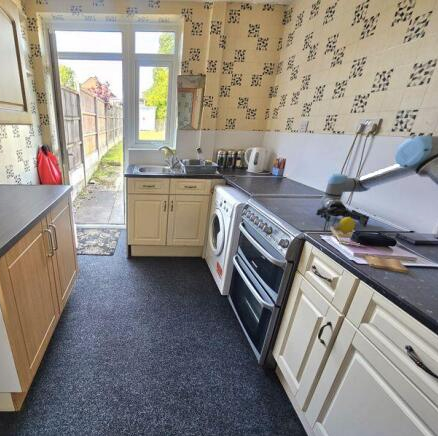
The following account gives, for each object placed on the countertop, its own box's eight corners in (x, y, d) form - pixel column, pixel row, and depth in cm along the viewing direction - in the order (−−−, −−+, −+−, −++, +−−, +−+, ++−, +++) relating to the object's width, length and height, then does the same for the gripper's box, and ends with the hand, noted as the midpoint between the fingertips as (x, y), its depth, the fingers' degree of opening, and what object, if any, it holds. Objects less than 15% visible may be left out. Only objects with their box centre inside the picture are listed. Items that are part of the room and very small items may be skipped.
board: (396, 261, 88) (397, 259, 88) (407, 273, 82) (409, 270, 81) (362, 255, 92) (363, 253, 92) (370, 266, 85) (371, 263, 85)
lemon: (333, 231, 112) (338, 215, 109) (342, 230, 114) (347, 214, 111) (345, 236, 107) (351, 219, 104) (354, 235, 109) (360, 218, 106)
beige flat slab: (352, 232, 113) (353, 229, 112) (365, 247, 98) (366, 244, 98) (329, 228, 116) (330, 226, 115) (339, 243, 102) (340, 240, 101)
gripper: (362, 218, 124) (378, 234, 106) (305, 210, 134) (312, 224, 116) (367, 204, 122) (385, 217, 104) (309, 197, 131) (316, 209, 113)
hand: (346, 221), depth 110 cm, fingers open, 13 cm apart
